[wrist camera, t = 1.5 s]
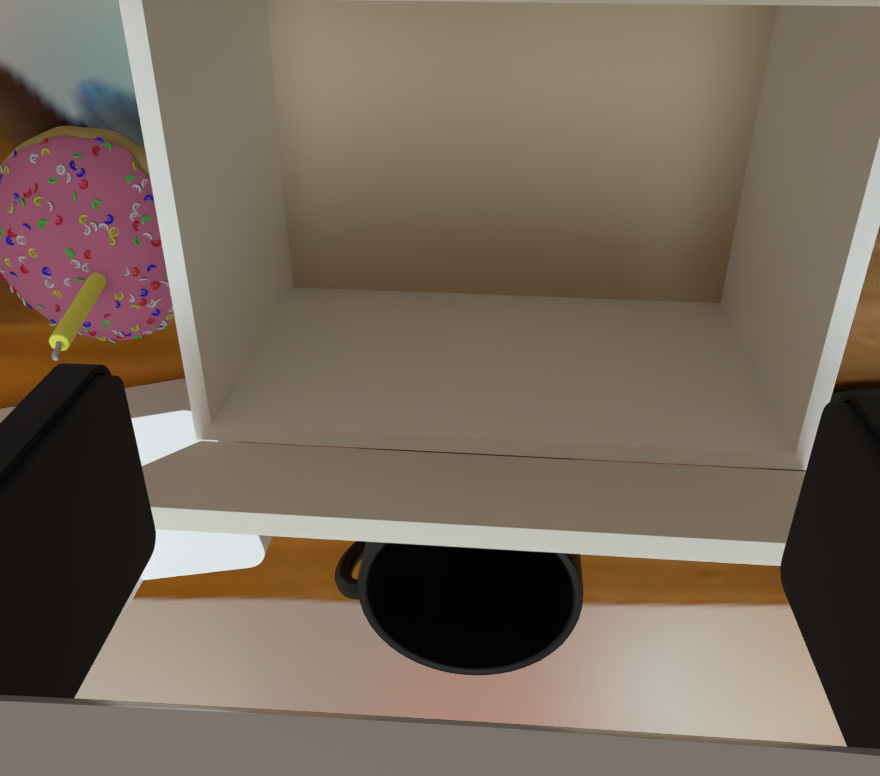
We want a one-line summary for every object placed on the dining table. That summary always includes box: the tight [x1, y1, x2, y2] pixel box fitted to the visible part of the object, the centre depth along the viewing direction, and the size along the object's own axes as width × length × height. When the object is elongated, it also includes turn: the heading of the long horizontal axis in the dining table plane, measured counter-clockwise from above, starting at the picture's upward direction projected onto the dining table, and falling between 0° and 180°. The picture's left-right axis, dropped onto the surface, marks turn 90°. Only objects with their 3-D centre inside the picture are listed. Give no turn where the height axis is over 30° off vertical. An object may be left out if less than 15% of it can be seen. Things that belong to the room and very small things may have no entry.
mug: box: [335, 449, 583, 675], centre depth 39 cm, size 9×12×9 cm
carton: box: [119, 0, 880, 470], centre depth 28 cm, size 20×18×12 cm
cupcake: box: [0, 126, 175, 361], centre depth 31 cm, size 9×8×12 cm
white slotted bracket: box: [0, 378, 272, 623], centre depth 40 cm, size 10×18×10 cm, turn 103°
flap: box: [142, 441, 805, 566], centre depth 23 cm, size 20×9×1 cm
